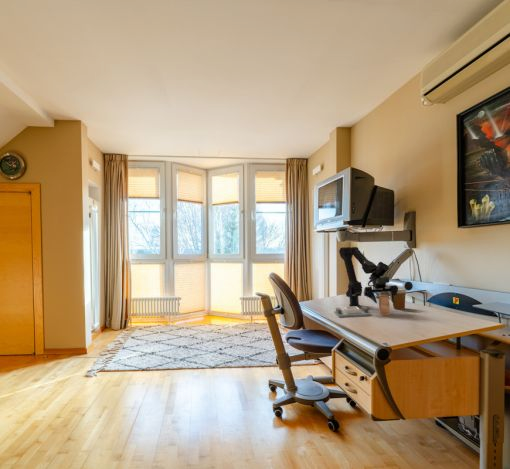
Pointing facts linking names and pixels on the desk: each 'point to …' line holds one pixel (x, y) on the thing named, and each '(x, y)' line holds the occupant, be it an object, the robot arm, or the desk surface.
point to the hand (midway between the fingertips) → (384, 302)
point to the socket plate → (352, 312)
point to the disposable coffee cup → (399, 299)
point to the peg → (384, 304)
